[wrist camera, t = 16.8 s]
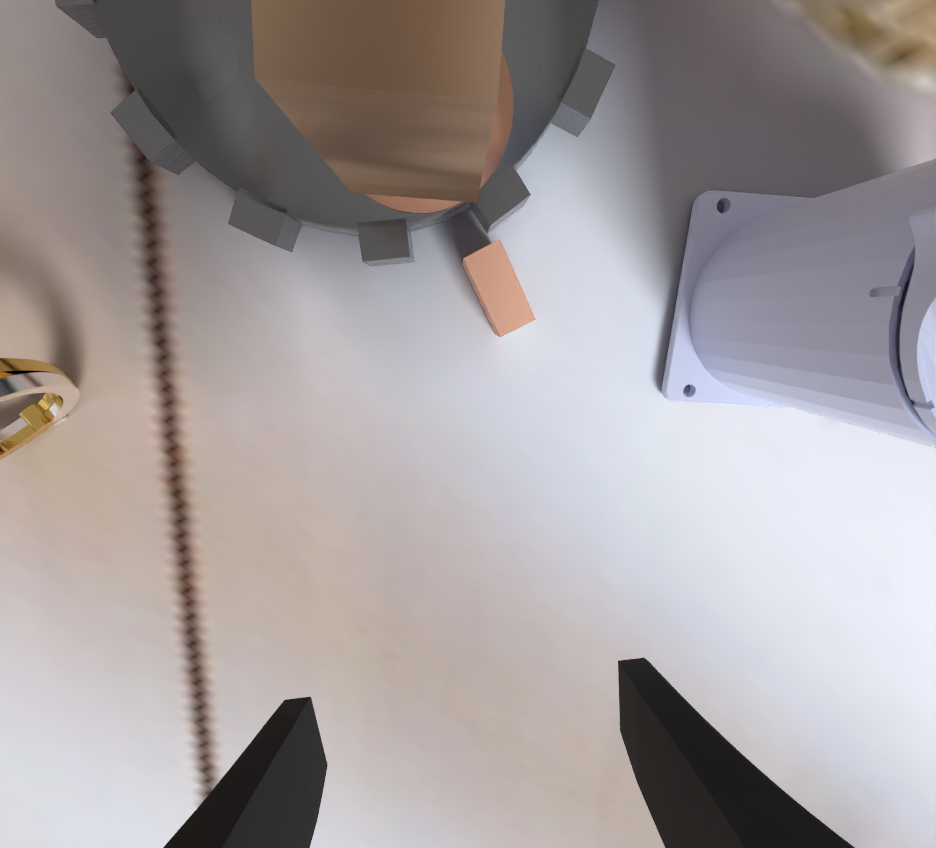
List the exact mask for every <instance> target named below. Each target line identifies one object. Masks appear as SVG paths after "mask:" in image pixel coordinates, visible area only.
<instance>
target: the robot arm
mask: <svg viewBox="0 0 936 848" xmlns="http://www.w3.org/2000/svg"><path fill="white" fill-rule="evenodd" d="M718 201H722V202H723V204H724V211H723V213H720V212H719V211H718V210H717V203H718ZM687 385H690V386H691V390H690V392H689V393H688V394H687V395H684V394H683V389H684V387H685V386H687ZM662 394H663V396H664V397H665V398H666V399H668V400H670V401H674V402H688V403H706V404H725V405H743V406H761V407H779V408H794V409H797V410H801V411H804V412H808V413H812V414H815V415H819V416H822V417H826V418H830V419H833V420H837V421H840V422H844V423H848V424H851V425H855V426H858V427H862V428H866V429H869V430H873V431H876V432H880V433H884V434H887V435H891V436H894V437H898V438H902V439H905V440H909V441H912V442H916V443H919V444H923V445H927V446H930V447H934V448H936V159H934V160H931V161H928V162H925V163H922V164H918V165H915V166H912V167H909V168H906V169H903V170H900V171H897V172H894V173H890V174H887V175H884V176H881V177H878V178H875V179H872V180H869V181H866V182H862V183H859V184H856V185H853V186H850V187H847V188H844V189H841V190H838V191H834V192H831V193H828V194H825V195H822V196H819V197H816V198H806V197H793V196H781V195H768V194H755V193H742V192H729V191H717V190H710V191H706V192H704V193H702V194H701V195H699V196H698V197H697V198H696V199H695V201H694V204H693V207H692V213H691V219H690V225H689V231H688V236H687V242H686V248H685V254H684V260H683V266H682V272H681V278H680V284H679V290H678V295H677V301H676V307H675V313H674V319H673V325H672V331H671V337H670V343H669V348H668V354H667V360H666V366H665V372H664V378H663V384H662ZM618 671H619V703H620V731H621V734H622V738H623V741H624V744H625V747H626V750H627V753H628V756H629V759H630V762H631V765H632V768H633V771H634V774H635V777H636V780H637V783H638V785H639V788H640V790H641V792H642V795H643V797H644V799H645V802H646V804H647V806H648V809H649V811H650V813H651V816H652V818H653V820H654V822H655V825H656V827H657V829H658V832H659V834H660V836H661V839H662V841H663V843H664V845H665V848H854V847H853V846H852V845H850V844H849V843H848V842H847V841H845V840H844V839H843V838H841V837H840V836H839V835H837V834H836V833H835V832H834V831H832V830H831V829H830V828H829V827H827V826H826V825H825V824H823V823H822V822H821V821H820V820H818V819H817V818H816V817H815V816H813V815H812V814H811V813H810V812H808V811H807V810H806V809H805V808H804V807H802V806H801V805H800V804H799V803H797V802H796V801H795V800H794V799H793V798H791V797H790V796H789V795H788V794H787V793H786V792H784V791H783V790H782V789H781V788H780V787H778V786H777V785H776V784H775V783H774V782H773V781H772V780H770V779H769V778H768V777H767V776H766V775H765V774H764V773H762V772H761V771H760V770H759V769H758V768H757V767H756V766H755V765H753V764H752V763H751V762H750V761H749V760H748V759H747V758H746V757H745V756H743V755H742V754H741V753H740V752H739V751H738V750H737V749H736V748H735V747H734V746H733V745H731V744H730V743H729V742H728V741H727V740H726V739H725V738H724V737H723V736H722V735H721V734H720V733H719V732H718V731H717V730H716V729H715V728H714V727H713V726H711V725H710V724H709V723H708V722H707V721H706V720H705V719H704V718H703V717H702V716H701V715H700V714H699V713H698V712H697V711H696V710H695V709H694V708H693V707H692V706H691V705H690V704H689V703H688V702H687V701H686V700H685V699H684V698H683V697H682V696H681V695H680V694H679V693H678V692H677V691H676V690H675V689H674V688H673V687H672V686H671V684H670V683H669V682H668V681H667V680H666V679H665V678H664V677H663V676H662V675H661V674H660V673H659V672H658V671H657V670H656V669H655V668H654V667H653V666H652V664H651V663H650V662H649V661H647V660H646V659H645V658H639V659H630V660H622V661H618ZM326 770H327V761H326V757H325V753H324V749H323V745H322V741H321V737H320V733H319V729H318V725H317V720H316V716H315V712H314V708H313V704H312V700H311V697H306V698H297V699H289V700H284V702H283V703H282V704H281V705H280V706H279V708H278V709H277V710H276V711H275V713H274V714H273V715H272V716H271V718H270V719H269V720H268V721H267V723H266V724H265V725H264V726H263V728H262V729H261V730H260V732H259V733H258V734H257V735H256V737H255V738H254V739H253V740H252V742H251V743H250V744H249V746H248V747H247V748H246V749H245V751H244V752H243V753H242V754H241V756H240V757H239V758H238V759H237V761H236V762H235V763H234V764H233V766H232V767H231V768H230V769H229V771H228V772H227V773H226V774H225V775H224V777H223V778H222V779H221V780H220V782H219V783H218V784H217V785H216V787H215V788H214V789H213V790H212V791H211V793H210V794H209V795H208V796H207V798H206V799H205V800H204V801H203V802H202V804H201V805H200V806H199V807H198V808H197V810H196V811H195V812H194V813H193V814H192V815H191V816H190V818H189V819H188V820H187V821H186V822H185V823H184V824H183V826H182V827H181V828H180V829H179V830H178V831H177V833H176V834H175V835H174V836H173V837H172V838H171V839H170V841H169V842H168V843H167V844H166V845H165V846H164V848H309V847H310V844H311V840H312V837H313V833H314V830H315V826H316V822H317V818H318V813H319V808H320V803H321V798H322V793H323V787H324V782H325V776H326Z"/></svg>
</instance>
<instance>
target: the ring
mask: <svg viewBox="0 0 936 848" xmlns="http://www.w3.org/2000/svg"><path fill="white" fill-rule="evenodd" d="M34 393H45V395H44V396H43V398H42V399H41V400H40V401H39V402H38V403H35V404H33V405H31V406H29V407H27V408H26V409H24V410H23V411H22V412H21V413H20V414H19V416H20V418H19V419H18V420H16V421H15V422H13V423H12V424H10V425H9V426H7V427H6V428H4V429H3V430H1V431H0V460H1V459H3V458H5V457H6V456H8V455H10V454H11V453H13V452H14V451H16V450H18V449H19V448H21V447H22V446H24V445H26V444H27V443H29V442H30V441H32V440H33V439H35V438H36V437H38V436H39V435H40V434H42V433H43V432H45V431H46V430H48V429H49V428H54V427H56V426H57V425H59V424H60V423H62V422H63V421H65V420H66V419H67V416H66V415H67V414H68V413H69V412H70V411H71V410H72V409H73V407H74V406H75V405H76V404H77V402H78V400H79V398H80V392H79V390H78V389H77V388H76V387H75V386H74V385H73V383H72V381H71V380H70V379H69V378H68V377H67V376H66V375H65V373H64V372H63V371H62V370H61V369H59V368H58V367H56V366H54V365H52V364H49V363H46V362H42V361H36V360H29V359H16V358H0V402H1V401H4V400H7V399H11V398H14V397H18V396H23V395H28V394H34Z"/></svg>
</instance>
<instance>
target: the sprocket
mask: <svg viewBox="0 0 936 848" xmlns="http://www.w3.org/2000/svg"><path fill="white" fill-rule="evenodd" d="M55 2H56V6H57V7H58V8H59V9H60V10H62V11H63V12H64V13H66V14H67V15H68V16H69V17H71V18H72V19H73V20H75V21H76V22H77V23H79V24H80V25H81V26H82V27H84V28H85V29H86V30H88V31H89V32H90V33H91V34H93V35H94V36H95V37H97V38H105V37H107V39H108V41H109V44H110V46H111V48H112V50H113V52H114V54H115V56H116V58H117V59H118V61H119V63H120V65H121V67H122V68H123V70H124V72H125V74H126V76H127V77H128V79H129V81H130V83H131V84H132V86H133V87H134V89H135V91H134V92H133V93H131V94H130V95H129V96H128V97H127V98H126V99H125V100H124V101H123V102H121V103H120V104H119V105H118V106H117V107H116V108H115V109H114V110H113V111H112V112H110V113H111V114H112V115H113V117H114V118H115V119H116V120H117V122H118V123H119V124H120V125H121V127H122V128H123V129H124V130H125V131H126V133H127V134H128V135H129V136H130V138H131V139H132V140H133V141H134V143H135V144H136V145H137V146H138V148H139V149H140V150H141V151H142V153H143V154H144V155H145V156H146V158H147V159H148V160H149V161H151V162H153V163H155V164H157V165H159V166H161V167H163V168H165V169H167V170H169V171H171V172H173V173H175V174H177V175H179V174H180V173H181V172H183V171H184V170H185V169H186V168H187V167H188V166H190V165H191V164H192V163H193V162H194V161H195V160H196V161H197V162H198V163H199V164H200V165H202V166H203V167H204V168H205V169H206V170H208V171H209V172H210V173H212V174H213V175H215V176H216V177H217V178H219V179H220V180H221V181H223V182H224V183H226V184H227V185H228V186H230V187H231V188H233V189H234V190H236V191H238V193H237V197H236V200H235V203H234V206H233V210H232V213H231V216H230V219H229V223H228V224H229V225H232V226H234V227H236V228H238V229H240V230H242V231H245V232H247V233H249V234H251V235H253V236H255V237H257V238H260V239H262V240H264V241H266V242H268V243H270V244H273V245H275V246H277V247H280V248H282V249H285V250H288V251H290V252H292V251H293V248H294V245H295V242H296V239H297V236H298V233H299V230H300V227H301V224H304V225H306V226H310V227H314V228H318V229H322V230H326V231H330V232H334V233H342V234H351V235H359V240H360V247H361V254H362V261H363V262H364V263H366V264H368V265H369V266H379V265H389V264H400V263H410V262H414V256H413V248H412V239H411V231H416V230H419V229H422V228H425V227H428V226H431V225H434V224H438V223H441V222H443V221H445V220H447V219H449V218H451V217H453V216H455V215H457V214H460V213H462V212H464V211H466V210H467V209H469V208H471V209H472V211H473V212H474V214H475V215H476V217H477V218H478V220H479V222H480V223H481V225H482V226H483V228H484V229H485V231H486V232H487V233H488V232H490V231H491V230H492V229H493V228H495V227H496V226H497V225H499V224H500V223H501V222H503V221H504V220H505V219H507V218H508V217H509V216H511V215H512V214H513V213H515V212H516V211H517V210H519V209H520V208H521V207H523V206H524V204H525V203H526V201H527V200H528V198H529V197H530V195H531V194H530V193H529V191H528V190H527V188H526V186H525V185H524V183H523V181H522V180H521V178H520V176H519V175H518V173H517V172H516V170H517V169H518V167H519V166H520V165H521V164H522V163H523V162H524V161H525V159H526V158H527V157H528V156H529V155H530V154H531V152H532V151H533V149H534V148H535V146H536V145H537V143H538V142H539V141H540V139H541V138H542V136H543V135H544V133H545V132H546V130H547V129H548V127H549V125H550V123H552V124H554V125H556V126H558V127H560V128H561V129H563V130H565V131H567V132H569V133H570V134H572V135H574V136H576V137H578V136H579V134H580V133H581V132H582V130H583V129H584V127H585V126H586V124H587V123H588V122H589V120H590V119H591V117H592V114H593V112H594V110H595V108H596V106H597V103H598V101H599V99H600V97H601V95H602V93H603V90H604V88H605V86H606V84H607V82H608V80H609V77H610V75H611V73H612V71H613V69H614V66H615V65H614V64H612V63H610V62H609V61H607V60H605V59H603V58H602V57H600V56H598V55H597V54H595V53H593V52H591V51H590V50H588V49H586V48H585V47H586V44H587V42H588V38H589V34H590V30H591V26H592V22H593V18H594V15H595V11H596V7H597V2H598V0H505V8H504V22H503V36H502V50H501V64H500V78H499V92H498V102H497V107H496V112H495V117H494V122H493V126H492V131H491V136H490V141H489V146H488V150H487V155H486V160H485V165H484V170H483V175H482V179H481V184H480V189H479V194H478V199H477V203H473V202H461V201H448V200H436V199H423V198H411V197H398V196H386V195H373V194H360V193H351V192H350V191H349V189H348V188H347V187H346V186H345V185H344V183H343V182H342V181H341V180H340V179H339V177H338V176H337V175H336V174H335V173H334V172H333V170H332V169H331V168H330V167H329V166H328V164H327V163H326V162H325V161H324V160H323V159H322V157H321V156H320V155H319V154H318V153H317V151H316V150H315V149H314V148H313V147H312V146H311V144H310V143H309V142H308V141H307V140H306V138H305V137H304V136H303V135H302V134H301V133H300V131H299V130H298V129H297V128H296V127H295V125H294V124H293V123H292V122H291V121H290V119H289V118H288V117H287V116H286V115H285V114H284V112H283V111H282V110H281V109H280V108H279V106H278V105H277V104H276V103H275V102H274V101H273V99H272V98H271V97H270V96H269V95H268V93H267V92H266V91H265V90H264V89H263V88H262V86H261V85H260V84H259V83H258V82H257V80H256V79H255V75H254V53H253V30H252V8H251V0H55Z"/></svg>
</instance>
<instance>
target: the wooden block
mask: <svg viewBox="0 0 936 848" xmlns="http://www.w3.org/2000/svg"><path fill="white" fill-rule="evenodd" d="M251 8H252V30H253V53H254V75H255V79H256V80H257V82H258V83H259V84H260V85H261V86H262V88H263V89H264V90H265V91H266V92H267V93H268V95H269V96H270V97H271V98H272V99H273V101H274V102H275V103H276V104H277V105H278V106H279V108H280V109H281V110H282V111H283V112H284V114H285V115H286V116H287V117H288V118H289V119H290V121H291V122H292V123H293V124H294V125H295V127H296V128H297V129H298V130H299V131H300V133H301V134H302V135H303V136H304V137H305V138H306V140H307V141H308V142H309V143H310V144H311V146H312V147H313V148H314V149H315V150H316V151H317V153H318V154H319V155H320V156H321V157H322V159H323V160H324V161H325V162H326V163H327V164H328V166H329V167H330V168H331V169H332V170H333V172H334V173H335V174H336V175H337V176H338V177H339V179H340V180H341V181H342V182H343V183H344V185H345V186H346V187H347V188H348V189H349V191H350V192H351V193H360V194H373V195H386V196H398V197H411V198H423V199H436V200H448V201H461V202H473V203H477V199H478V194H479V189H480V184H481V179H482V175H483V170H484V165H485V160H486V155H487V150H488V146H489V141H490V136H491V131H492V126H493V122H494V117H495V112H496V107H497V102H498V92H499V78H500V64H501V50H502V36H503V22H504V8H505V0H251Z"/></svg>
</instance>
